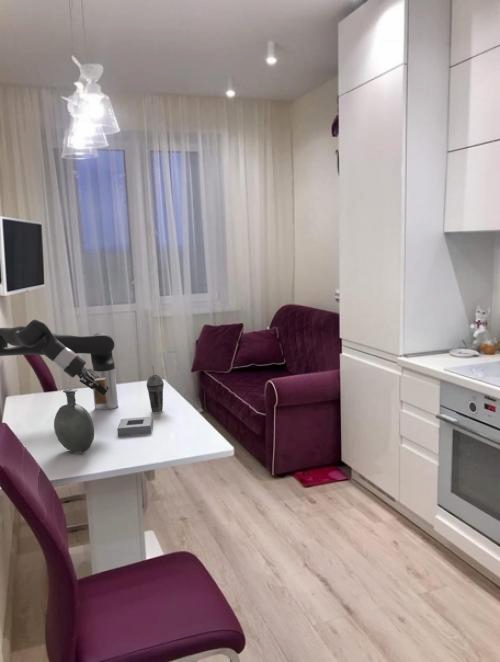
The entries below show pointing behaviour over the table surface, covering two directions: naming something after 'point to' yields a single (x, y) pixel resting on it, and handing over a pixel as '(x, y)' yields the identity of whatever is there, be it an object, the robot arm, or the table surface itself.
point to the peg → (98, 396)
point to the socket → (135, 426)
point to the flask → (74, 425)
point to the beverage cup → (155, 392)
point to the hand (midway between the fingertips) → (106, 391)
